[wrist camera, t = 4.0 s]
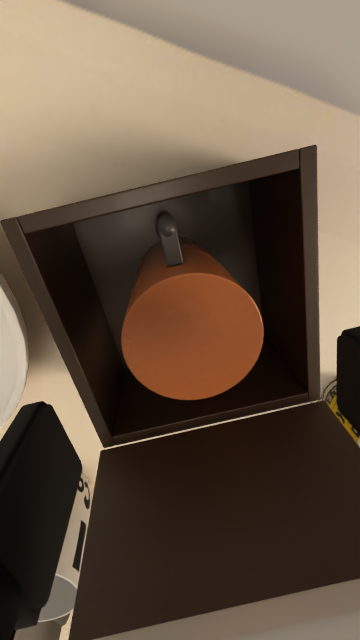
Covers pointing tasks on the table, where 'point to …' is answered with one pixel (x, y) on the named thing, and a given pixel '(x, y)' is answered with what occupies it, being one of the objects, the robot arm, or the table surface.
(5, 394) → the bowl
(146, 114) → the table surface
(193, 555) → the box top
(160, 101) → the table surface
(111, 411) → the dark wooden lidded box
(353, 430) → the supplement bottle
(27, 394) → the table surface
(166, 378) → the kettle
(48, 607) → the cup
